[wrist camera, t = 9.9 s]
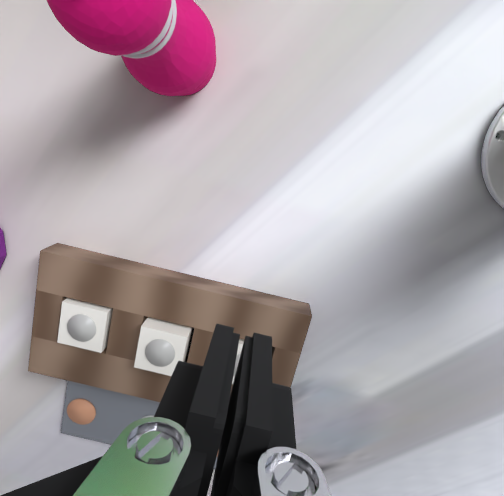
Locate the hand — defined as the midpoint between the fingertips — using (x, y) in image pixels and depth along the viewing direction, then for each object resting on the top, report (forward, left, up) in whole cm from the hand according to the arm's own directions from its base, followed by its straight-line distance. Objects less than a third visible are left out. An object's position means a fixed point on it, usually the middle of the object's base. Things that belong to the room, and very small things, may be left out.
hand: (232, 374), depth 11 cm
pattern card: (+6, +26, -27) cm, 38 cm away
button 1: (+14, +14, -27) cm, 33 cm away
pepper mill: (+10, -12, -27) cm, 31 cm away
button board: (+6, +14, -27) cm, 31 cm away
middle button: (+6, +14, -26) cm, 30 cm away
